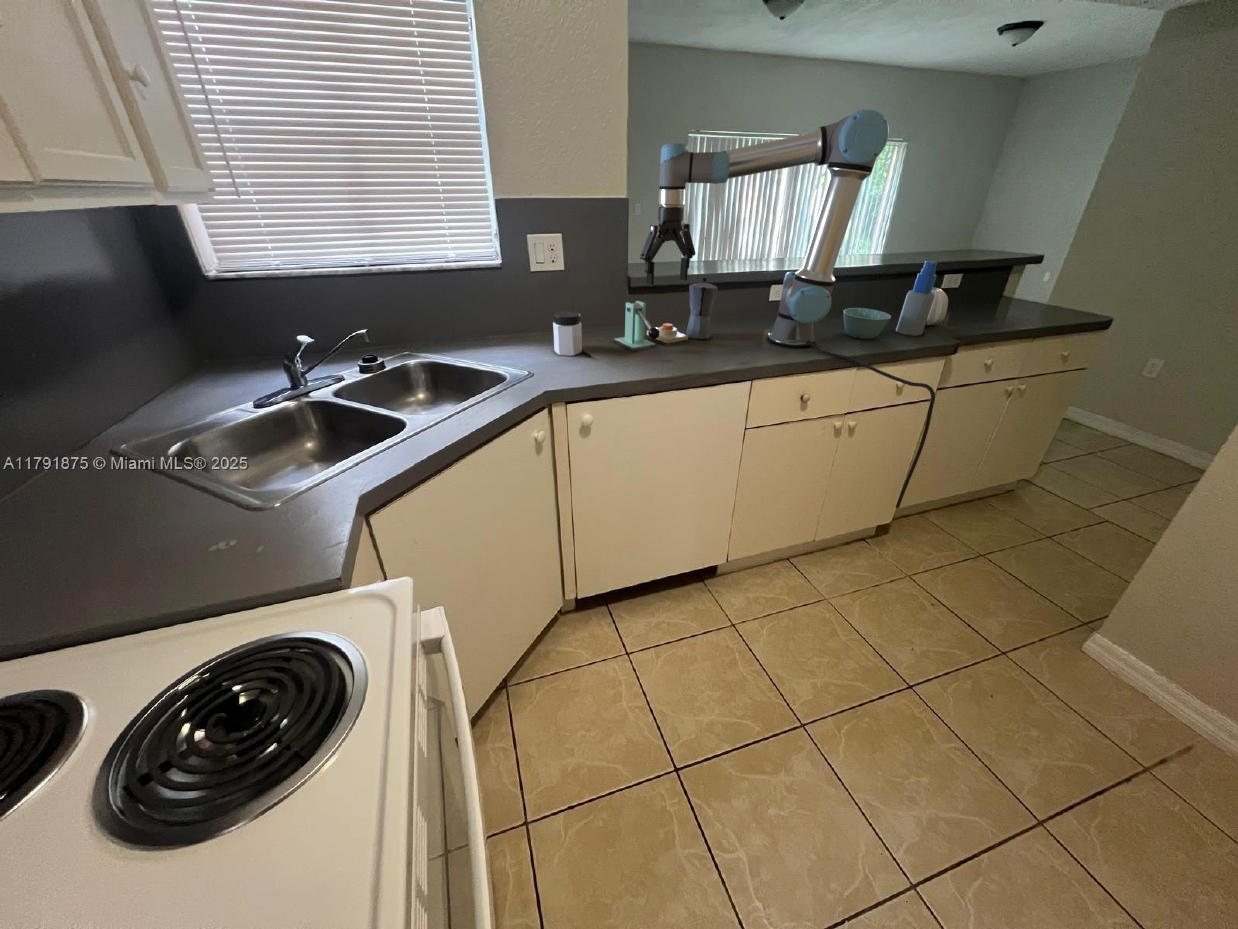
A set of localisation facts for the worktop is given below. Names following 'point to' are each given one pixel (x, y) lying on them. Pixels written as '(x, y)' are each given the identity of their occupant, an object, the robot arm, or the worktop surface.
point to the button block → (670, 335)
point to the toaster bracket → (634, 327)
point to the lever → (647, 323)
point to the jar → (567, 333)
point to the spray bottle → (918, 302)
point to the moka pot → (701, 309)
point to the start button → (667, 326)
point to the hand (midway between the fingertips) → (666, 281)
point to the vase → (937, 307)
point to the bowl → (864, 322)
